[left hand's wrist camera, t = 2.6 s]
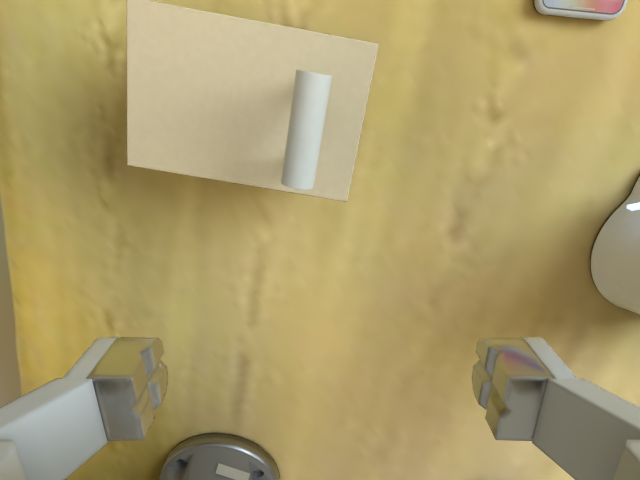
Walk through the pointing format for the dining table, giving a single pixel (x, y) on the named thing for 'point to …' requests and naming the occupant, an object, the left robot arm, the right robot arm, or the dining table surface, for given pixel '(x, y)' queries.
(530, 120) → the dining table surface
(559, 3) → the smartphone
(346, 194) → the lid
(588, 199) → the dining table surface
